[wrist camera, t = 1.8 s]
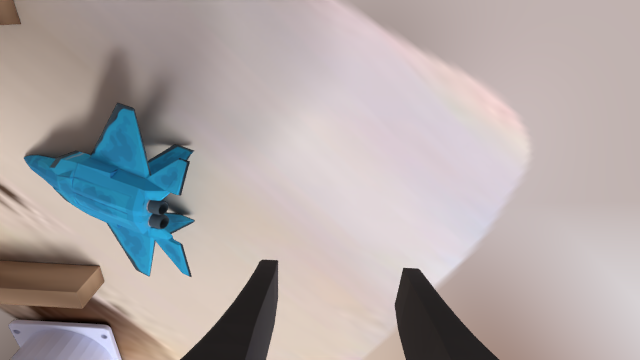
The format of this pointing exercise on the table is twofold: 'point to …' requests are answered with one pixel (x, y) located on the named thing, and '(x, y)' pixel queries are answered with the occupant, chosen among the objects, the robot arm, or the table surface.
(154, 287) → the table surface
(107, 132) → the toy airplane
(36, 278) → the brown wooden u shape
